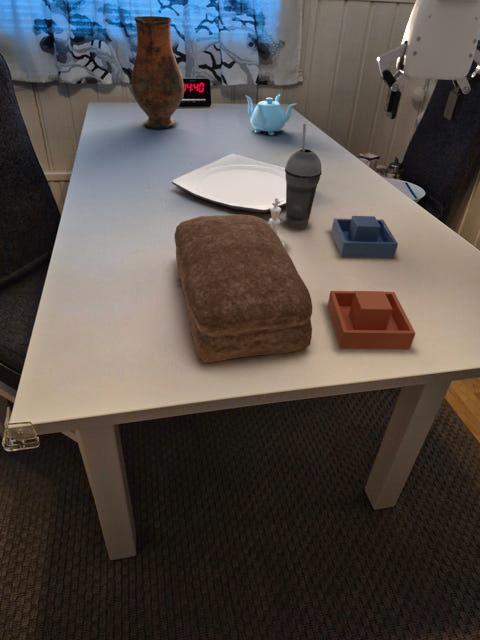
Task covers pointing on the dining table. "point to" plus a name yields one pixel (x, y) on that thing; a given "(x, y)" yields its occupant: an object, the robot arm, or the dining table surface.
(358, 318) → the terracotta block
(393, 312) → the terracotta bin
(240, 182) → the plate
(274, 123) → the teapot
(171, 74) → the brown vase
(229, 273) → the bread
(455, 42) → the robot arm
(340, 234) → the slate bin
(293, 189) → the beverage cup
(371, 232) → the slate block
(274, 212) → the chess piece
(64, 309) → the dining table surface
